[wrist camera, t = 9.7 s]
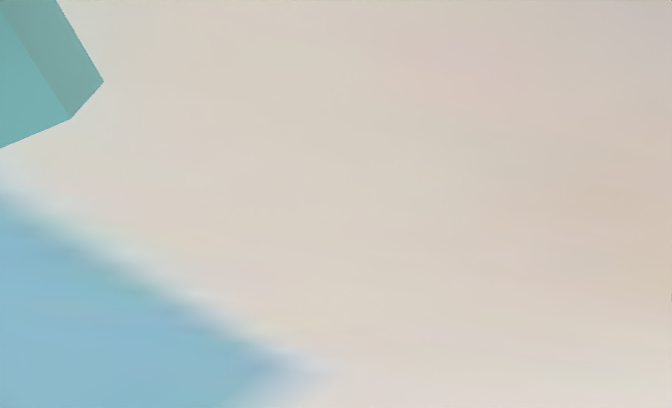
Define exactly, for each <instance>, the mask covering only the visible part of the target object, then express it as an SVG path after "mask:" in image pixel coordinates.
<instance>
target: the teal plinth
mask: <svg viewBox="0 0 672 408" xmlns="http://www.w3.org/2000/svg"><path fill="white" fill-rule="evenodd" d="M103 82H104V81H103V79H102V78H101V76H100V74H99V72H98V71H97V69H96V67H95V66H94V64H93V62H92V61H91V59H90V57H89V56H88V54H87V52H86V50H85V49H84V47H83V45H82V44H81V42H80V40H79V39H78V37H77V35H76V34H75V32H74V30H73V28H72V27H71V25H70V23H69V22H68V20H67V18H66V17H65V15H64V13H63V12H62V10H61V8H60V6H59V5H58V3H57V1H56V0H0V148H2V147H5V146H7V145H9V144H12V143H14V142H17V141H19V140H21V139H24V138H26V137H28V136H31V135H33V134H36V133H38V132H40V131H43V130H45V129H48V128H50V127H52V126H55V125H57V124H59V123H62V122H64V121H67V120H69V119H71V118H72V117H73V116H74V114H75V113H76V112H77V111H78V110H79V109H80V108H81V107H82V106H83V104H84V103H85V102H86V101H87V100H88V99H89V98H90V97H91V96H92V94H93V93H94V92H95V91H96V90H97V89H98V88H99V87H100V86H101V84H102V83H103Z"/></svg>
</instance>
